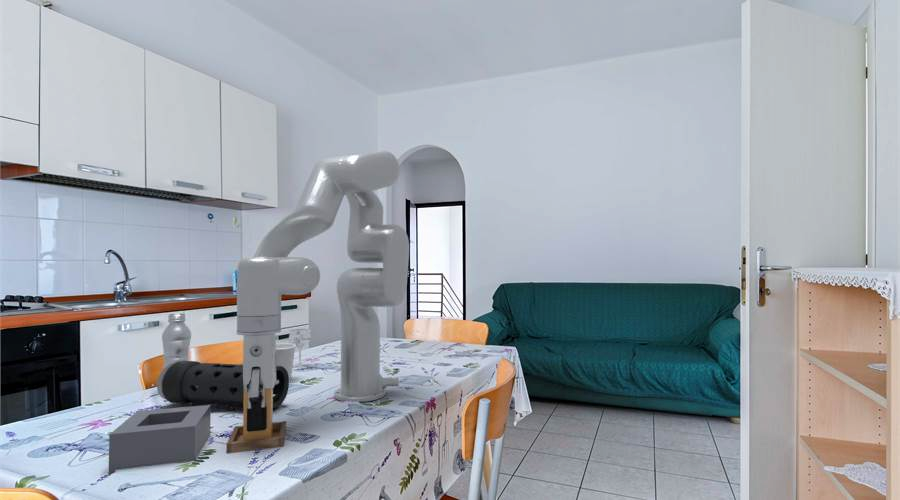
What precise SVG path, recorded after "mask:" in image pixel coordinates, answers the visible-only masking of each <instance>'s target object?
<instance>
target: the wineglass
mask: <svg viewBox="0 0 900 500" xmlns="http://www.w3.org/2000/svg"><path fill="white" fill-rule="evenodd" d="M311 330H312V329H310V328H295V329H290V330H288V332H289V335H288V341H289V343H290V344H295V345H296V347H297V349H298V360H299V361H298V365H297V366H295V367H296V368H303V367H304V365H301V364H302V362H301V361H302V349H303V347H305V346H307V345H308V344H309V342H311V339H312V334H311Z"/></svg>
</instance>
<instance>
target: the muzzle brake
mask: <svg viewBox="0 0 900 500" xmlns="http://www.w3.org/2000/svg"><path fill="white" fill-rule="evenodd" d="M276 380H279V383H278V384H276V383H275V385H274V388H273V411H276V410H278V409H279V407H280V406H281V405H282V404H283V403H284V401H285V400H286V398H287V395H288V391H289V388H290V382H289V376H288V372H287V370H286V369H285V368H284V367H283V366H276ZM156 390H157V393H158V395H159V396H160V398H162V399H164V400H166V401H167V402H169V403H172V404H184V405H185V404H188V405H189V404H190V407H192V406H203V405H211V406H222V407H226V408H227V409H229V410H230V409H232V408H233V409H237V410H243V408H244V387H243V363H242V364H234V363H233V364H232V363H217V362H216V363H215V362H214V363H213V362H199V361H196V360H195V361H194V360H188V361H179V362H176V363H172V364H169V365H168V366H166V367H165V368H164V369H163V368H162V370H161V371H160V374H159V376H158V378H157V382H156Z"/></svg>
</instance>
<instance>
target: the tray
mask: <svg viewBox="0 0 900 500" xmlns="http://www.w3.org/2000/svg"><path fill="white" fill-rule="evenodd" d="M286 431H287V421H286V420H284V421H273V434H272V438H263V439H254V440H245V441H243V425H235V426H234V428H233V429H232V432H231V434H230V436H229V438H228V441H227V443H226V448H225V450H226V452H225V453H226V454H232V453H233V454H234V453H242V452H249V451H259V450H268V449H269V450H270V449H276V448H277V449H278V448H283V447H284V446H285V438H286Z"/></svg>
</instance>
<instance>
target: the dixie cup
mask: <svg viewBox="0 0 900 500" xmlns="http://www.w3.org/2000/svg"><path fill="white" fill-rule="evenodd" d="M296 347H297V346H296V345H295V344H292V343H286V342H285V343H276V366H283V367H284V368H285V369H286V370H287V372H288V376H289V381H290V382H291V381H292V373H293V370H292V368H294V367H293V365H294V359H295V358H294V357H295V349H296ZM275 383H276V384H278V383H279V380H276V382H275Z"/></svg>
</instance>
